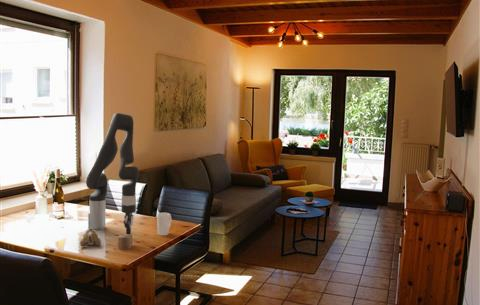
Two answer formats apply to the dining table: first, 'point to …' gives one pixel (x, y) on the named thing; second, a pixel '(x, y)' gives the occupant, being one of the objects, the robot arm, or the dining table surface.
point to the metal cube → (125, 241)
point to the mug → (163, 223)
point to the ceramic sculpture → (90, 238)
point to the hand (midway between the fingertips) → (128, 234)
